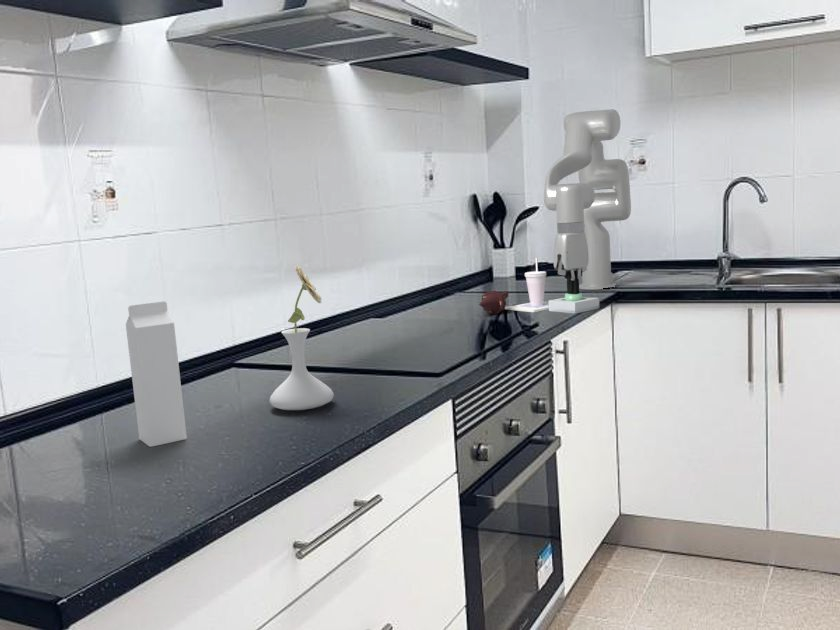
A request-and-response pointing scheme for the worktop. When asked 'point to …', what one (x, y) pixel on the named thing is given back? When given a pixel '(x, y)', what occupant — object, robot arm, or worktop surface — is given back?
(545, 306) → the paper pad
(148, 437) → the milk
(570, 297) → the button
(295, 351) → the flower in vase
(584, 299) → the grey square block
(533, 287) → the smoothie
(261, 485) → the worktop surface
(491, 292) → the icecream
